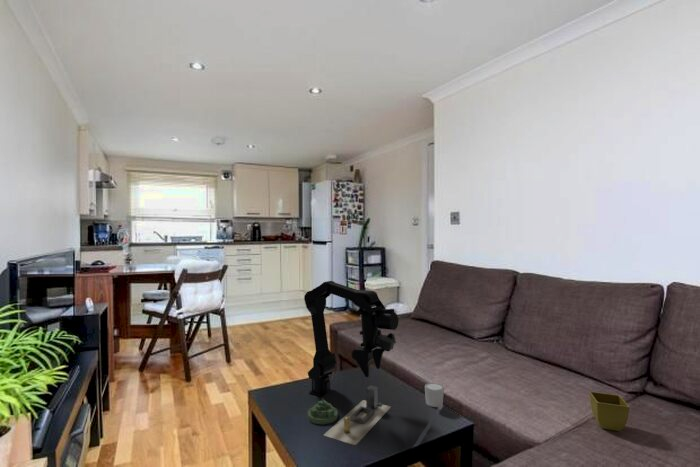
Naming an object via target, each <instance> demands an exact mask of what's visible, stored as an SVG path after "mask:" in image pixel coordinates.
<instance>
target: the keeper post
mask: <svg viewBox="0 0 700 467" xmlns="http://www.w3.org/2000/svg"><path fill="white" fill-rule="evenodd" d="M344 433H346V434H349V433H350V418H349V417H346V418H345V419H344Z"/></svg>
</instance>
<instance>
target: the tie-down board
mask: <svg viewBox="0 0 700 467" xmlns="http://www.w3.org/2000/svg"><path fill="white" fill-rule="evenodd" d="M361 406H362V407H366V399H365V400H364V399H363V400H361V401H360V402H359V403H358V404H356V405H355V407H353V408H352V409H351V410H349V412H348V413H346V414H345V415H344V416H343V417H342V418H341V419H339V420H338V421H337V422H336V423H335V424H334V425H333V426H332V427H331V428H329V429H328V430H327V431H326V432H325V433H324V434H323V436H324V437H327V438H330V439H334V440H336V441H340V442H343V443H345V444H350V445H353V446H356V445H358V443H359V442H360V441H361V440H363V438H364V437H365V436H366V435H367V433H368V432H370V430H371V429H372V428H373V427H374V426H375V425H376V424H377V422H379V421H380V420H381V418H382V417H384V415H385V414H386V413H387V412H388V411H389V410H390V409H391V408H392V406H390V405H386V404H383V403H382V402H380V401H378V407H377V408H376V409H375V414H374V415H373V416H372V417H371V418H370V419H369V420H368V421H367V422H366V423H365V424H360V423H357V422H353V421H350V433H349V434H346V433H344V419H345V418H346V417H349V418H350V416H351V415H352V414H353V413H354V412H355V411H356V410H357V409H358V408H360V407H361ZM367 414H368V413H365V412H361V413H360V414H359V415H358V416H357V417H359V418H364V417H365V416H366V415H367Z"/></svg>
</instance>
